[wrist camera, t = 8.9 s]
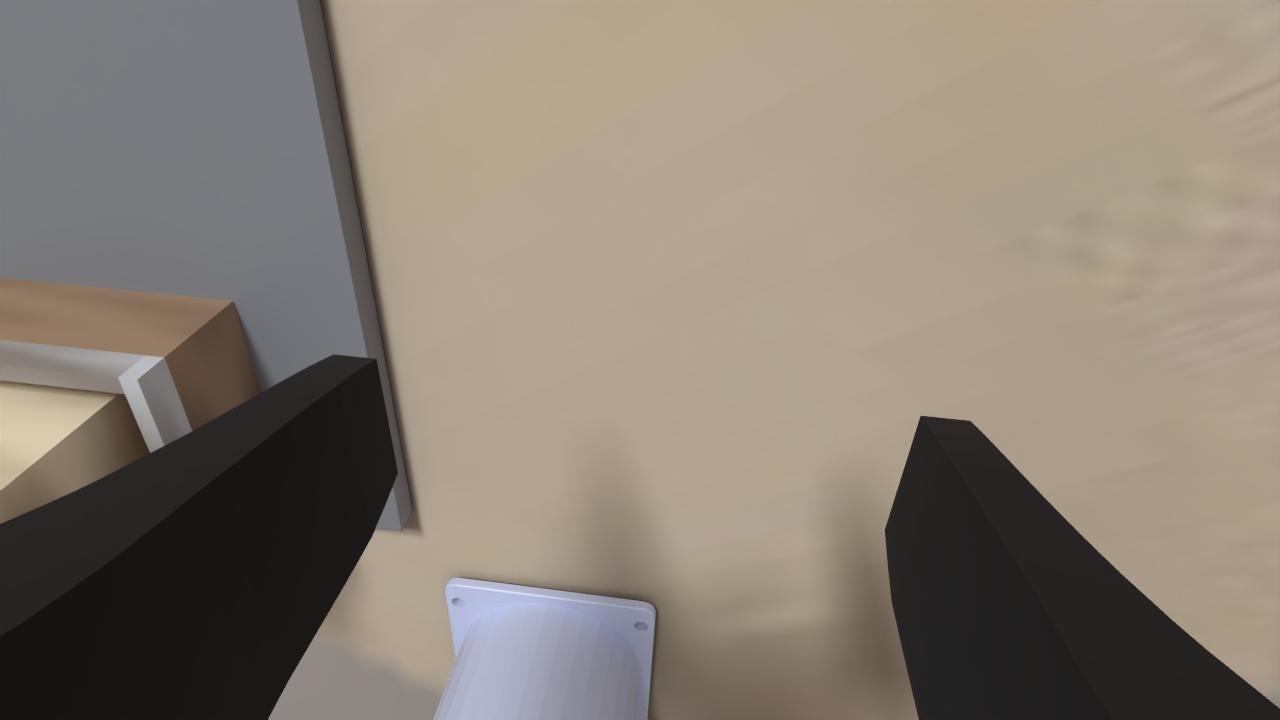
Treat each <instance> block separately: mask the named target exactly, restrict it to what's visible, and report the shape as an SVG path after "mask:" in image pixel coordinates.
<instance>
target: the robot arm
mask: <svg viewBox="0 0 1280 720" xmlns="http://www.w3.org/2000/svg"><path fill="white" fill-rule="evenodd" d="M397 474H398V469H397V464H396V459H395V454H394V448H393V443H392V438H391V432H390V427H389V422H388V417H387V411H386V406H385V401H384V395H383V390H382V385H381V380H380V374H379V369H378V364H377V359H373V358H364V357H354V356H345V355H335V354H333V355H331V356H329V357H327V358H325V359H323V360H321V361H318V362H317V363H315V364H313V365H311V366H309V367H307V368H305V369H303V370H301V371H299V372H297V373H296V374H294V375H292V376H290V377H288V378H286V379H285V380H283V381H281V382H279V383H278V384H276V385H274V386H272V387H270V388H269V389H267V390H265V391H263V392H262V393H260V394H258V395H256V396H254V397H253V398H251V399H249V400H247V401H246V402H244V403H242V404H240V405H238V406H237V407H235V408H233V409H231V410H229V411H228V412H226V413H224V414H222V415H220V416H219V417H217V418H215V419H213V420H211V421H210V422H208V423H206V424H204V425H202V426H201V427H199V428H197V429H195V430H193V431H192V432H190V433H188V434H186V435H184V436H182V437H180V438H179V439H177V440H175V441H173V442H171V443H169V444H167V445H165V446H163V447H161V448H159V449H157V450H155V451H153V452H151V453H149V454H147V455H145V456H144V457H142V458H140V459H138V460H136V461H134V462H132V463H130V464H128V465H126V466H124V467H122V468H120V469H118V470H116V471H114V472H112V473H110V474H109V475H107V476H105V477H103V478H101V479H99V480H97V481H95V482H92V483H90V484H88V485H86V486H84V487H82V488H80V489H78V490H76V491H74V492H71V493H69V494H67V495H65V496H63V497H61V498H58V499H56V500H54V501H52V502H50V503H47V504H45V505H43V506H41V507H38V508H36V509H34V510H31V511H29V512H27V513H24V514H22V515H20V516H17V517H15V518H13V519H10V520H8V521H6V522H4V523H1V524H0V720H268V718H269V716H270V714H271V712H272V711H273V709H274V707H275V705H276V703H277V701H278V699H279V697H280V696H281V694H282V692H283V690H284V688H285V686H286V684H287V682H288V680H289V679H290V677H291V676H292V673H293V672H294V670H295V669H296V667H297V665H298V663H299V662H300V660H301V658H302V657H303V655H304V653H305V652H306V650H307V648H308V646H309V645H310V643H311V641H312V640H313V638H314V636H315V635H316V633H317V631H318V629H319V628H320V626H321V624H322V623H323V621H324V619H325V617H326V616H327V614H328V612H329V611H330V609H331V607H332V605H333V604H334V602H335V600H336V599H337V597H338V595H339V594H340V592H341V590H342V588H343V587H344V585H345V583H346V581H347V580H348V578H349V576H350V574H351V573H352V571H353V569H354V568H355V566H356V564H357V562H358V561H359V559H360V557H361V555H362V554H363V552H364V550H365V548H366V546H367V545H368V543H369V541H370V539H371V537H372V535H373V533H374V531H375V528H376V526H377V524H378V521H379V519H380V517H381V514H382V512H383V510H384V507H385V505H386V502H387V500H388V497H389V495H390V492H391V490H392V487H393V485H394V482H395V479H396V477H397ZM885 537H886V548H887V560H888V571H889V580H890V589H891V598H892V604H893V609H894V613H895V618H896V623H897V627H898V631H899V636H900V640H901V645H902V649H903V653H904V658H905V662H906V666H907V671H908V675H909V679H910V683H911V688H912V692H913V696H914V700H915V705H916V709H917V713H918V717H919V720H1280V709H1279V708H1278V707H1277V706H1276V705H1274V704H1273V703H1272V702H1271V701H1270V700H1268V699H1267V698H1266V697H1265V696H1263V695H1262V694H1261V693H1260V692H1258V691H1257V690H1256V689H1255V688H1253V687H1252V686H1251V685H1250V684H1248V683H1247V682H1246V681H1245V680H1243V679H1242V678H1241V677H1240V676H1238V675H1237V674H1236V673H1235V672H1234V671H1232V670H1231V669H1230V668H1229V667H1227V666H1226V665H1225V664H1224V663H1222V662H1221V661H1220V660H1219V659H1217V658H1216V657H1215V656H1214V655H1212V654H1211V653H1210V652H1209V651H1207V650H1206V649H1205V648H1204V647H1203V646H1202V645H1200V644H1199V643H1198V642H1197V641H1196V640H1195V639H1193V638H1192V637H1191V636H1190V635H1189V634H1188V633H1186V632H1185V631H1184V630H1183V629H1182V628H1181V627H1179V626H1178V625H1177V624H1176V623H1175V622H1174V621H1172V620H1171V619H1170V618H1169V617H1168V616H1167V615H1166V614H1165V613H1164V612H1163V611H1161V610H1160V609H1159V608H1158V607H1157V606H1156V605H1155V604H1154V603H1153V602H1152V601H1150V600H1149V599H1148V598H1147V597H1146V596H1145V595H1144V594H1143V593H1142V592H1141V591H1139V590H1138V589H1137V588H1136V587H1135V586H1134V585H1133V584H1132V583H1131V582H1130V581H1128V580H1127V579H1126V578H1125V577H1124V576H1123V575H1122V574H1121V573H1120V572H1119V571H1118V570H1117V569H1116V568H1115V567H1114V566H1113V565H1111V564H1110V563H1109V562H1108V561H1107V560H1106V559H1105V558H1104V557H1103V556H1102V555H1101V554H1100V553H1099V552H1098V551H1097V550H1096V549H1095V548H1094V547H1093V546H1092V545H1091V544H1090V543H1089V542H1088V541H1087V540H1086V539H1085V538H1084V537H1083V536H1082V535H1081V534H1080V533H1079V532H1078V531H1077V530H1076V529H1075V528H1074V527H1073V526H1072V525H1071V524H1070V523H1069V522H1068V521H1067V520H1066V519H1065V518H1064V517H1063V516H1062V515H1061V514H1060V513H1059V512H1058V511H1057V510H1056V509H1055V508H1054V507H1053V506H1052V505H1051V504H1050V503H1049V502H1048V501H1047V500H1046V499H1045V498H1044V497H1043V496H1042V495H1041V494H1040V493H1039V492H1038V490H1037V489H1036V488H1035V487H1034V486H1033V485H1032V484H1031V483H1030V482H1029V481H1028V480H1027V479H1026V478H1025V477H1024V476H1023V475H1022V474H1021V473H1020V472H1019V471H1018V470H1017V468H1016V467H1015V466H1014V465H1013V464H1012V463H1011V462H1010V461H1009V460H1008V459H1007V458H1006V457H1005V456H1004V455H1003V454H1002V453H1001V452H1000V451H999V450H998V448H997V447H996V446H995V445H994V444H993V443H992V442H991V441H990V440H989V439H988V438H987V437H986V436H985V435H984V434H983V433H982V432H981V431H980V430H979V429H978V428H977V427H976V426H975V425H974V424H973V423H972V422H971V421H965V420H956V419H946V418H937V417H927V416H921V417H920V420H919V423H918V426H917V429H916V433H915V436H914V439H913V442H912V445H911V448H910V452H909V455H908V458H907V461H906V464H905V468H904V471H903V474H902V477H901V480H900V484H899V487H898V490H897V493H896V496H895V499H894V503H893V506H892V509H891V512H890V515H889V519H888V522H887V525H886V528H885ZM445 595H446V602H447V608H448V614H449V620H450V626H451V633H452V639H453V645H454V651H455V657H456V661H455V663H454V666H453V668H452V671H451V674H450V676H449V679H448V682H447V684H446V687H445V690H444V692H443V695H442V698H441V700H440V703H439V706H438V708H437V711H436V714H435V717H434V719H433V720H647V719H648V706H649V693H650V681H651V668H652V655H653V642H654V630H655V617H656V610H655V608H654V607H653V605H651V604H650V603H648V602H644V601H637V600H629V599H622V598H614V597H606V596H598V595H591V594H583V593H575V592H567V591H559V590H552V589H544V588H536V587H528V586H521V585H513V584H505V583H497V582H490V581H482V580H474V579H466V578H452V579H450V580H449V581H448V583H447V585H446V587H445Z"/></svg>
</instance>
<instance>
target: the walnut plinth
mask: <svg viewBox="0 0 1280 720" xmlns="http://www.w3.org/2000/svg"><path fill="white" fill-rule="evenodd" d="M0 380H2V381H11V382H20V383H29V384H38V385H47V386H56V387H65V388H73V389H82V390H91V391H100V392H109V393H118V394H124V395H125V397H126V400H127V402H128V404H129V406H130V409H131V411H132V413H133V415H134V418H135V420H136V422H137V424H138V427H139V429H140V431H141V434H142V436H143V438H144V440H145V443H146V445H147V447H148V449H149V452H150V453H151V452H153V451H155V450H157V449H159V448H161V447H163V446H165V445H167V444H169V443H171V442H173V441H175V440H177V439H179V438H180V437H182V436H184V435H186V434H188V433H190V432H192V431H193V430H195V429H197V428H199V427H201V426H202V425H204V424H206V423H208V422H210V421H211V420H213V419H215V418H217V417H219V416H220V415H222V414H224V413H226V412H228V411H229V410H231V409H233V408H235V407H237V406H238V405H240V404H242V403H244V402H246V401H247V400H249V399H251V398H253V397H254V396H256V395H258V394H260V393H261V391H260V388H259V385H258V381H257V378H256V375H255V371H254V368H253V365H252V361H251V358H250V355H249V351H248V348H247V345H246V342H245V338H244V335H243V332H242V328H241V325H240V322H239V318H238V315H237V312H236V308H235V305H234V302H233V301H230V300H220V299H210V298H200V297H190V296H180V295H170V294H160V293H150V292H140V291H130V290H120V289H110V288H100V287H90V286H80V285H70V284H60V283H50V282H40V281H30V280H19V279H9V278H0Z"/></svg>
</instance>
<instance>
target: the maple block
mask: <svg viewBox="0 0 1280 720" xmlns="http://www.w3.org/2000/svg"><path fill="white" fill-rule="evenodd" d="M149 453H150V452H149V449H148V447H147V445H146V443H145V440H144V438H143V436H142V434H141V431H140V429H139V427H138V424H137V422H136V420H135V418H134V415H133V413H132V411H131V409H130V406H129V404H128V402H127V400H126V397H125V395H124V394H118V393H109V392H100V391H91V390H82V389H73V388H65V387H56V386H47V385H38V384H29V383H20V382H11V381H2V380H0V524H1V523H4V522H6V521H8V520H10V519H13V518H15V517H17V516H20V515H22V514H24V513H27V512H29V511H31V510H34V509H36V508H38V507H41V506H43V505H45V504H47V503H50V502H52V501H54V500H56V499H58V498H61V497H63V496H65V495H67V494H69V493H71V492H74V491H76V490H78V489H80V488H82V487H84V486H86V485H88V484H90V483H92V482H95V481H97V480H99V479H101V478H103V477H105V476H107V475H109V474H110V473H112V472H114V471H116V470H118V469H120V468H122V467H124V466H126V465H128V464H130V463H132V462H134V461H136V460H138V459H140V458H142V457H144V456H145V455H147V454H149Z"/></svg>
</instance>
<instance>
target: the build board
mask: <svg viewBox="0 0 1280 720" xmlns="http://www.w3.org/2000/svg"><path fill="white" fill-rule="evenodd" d="M0 278H9V279H19V280H30V281H40V282H50V283H60V284H70V285H80V286H90V287H100V288H110V289H120V290H130V291H140V292H150V293H160V294H170V295H180V296H190V297H200V298H210V299H220V300H230V301H233V302H234V305H235V308H236V312H237V315H238V318H239V322H240V325H241V328H242V332H243V335H244V338H245V342H246V345H247V348H248V351H249V355H250V358H251V361H252V365H253V368H254V371H255V375H256V378H257V381H258V385H259V388H260V391H261V393H262V392H263V391H265V390H267V389H269V388H270V387H272V386H274V385H276V384H278V383H279V382H281V381H283V380H285V379H286V378H288V377H290V376H292V375H294V374H296V373H297V372H299V371H301V370H303V369H305V368H307V367H309V366H311V365H313V364H315V363H317V362H318V361H321V360H323V359H325V358H327V357H329V356H331V355H333V354H335V355H345V356H354V357H364V358H373V359H377V364H378V369H379V374H380V380H381V385H382V390H383V395H384V401H385V406H386V411H387V417H388V422H389V427H390V432H391V438H392V443H393V448H394V454H395V459H396V464H397V469H398V474H397V477H396V479H395V482H394V485H393V487H392V490H391V492H390V495H389V497H388V500H387V502H386V505H385V507H384V510H383V512H382V514H381V517H380V519H379V521H378V524H377V526H376V528H377V529H385V530H393V531H401V532H402V530H403V528H404V526H405V525H406V523H407V521H408V519H409V517H410V515H411V513H412V511H413V510H412V505H411V499H410V494H409V488H408V483H407V477H406V472H405V466H404V461H403V455H402V450H401V444H400V439H399V433H398V428H397V422H396V417H395V411H394V406H393V400H392V395H391V389H390V383H389V378H388V372H387V367H386V361H385V356H384V350H383V345H382V339H381V334H380V328H379V323H378V317H377V312H376V306H375V301H374V295H373V290H372V284H371V279H370V273H369V268H368V262H367V257H366V251H365V246H364V240H363V235H362V229H361V224H360V218H359V213H358V207H357V202H356V196H355V191H354V185H353V180H352V174H351V169H350V163H349V158H348V152H347V147H346V141H345V136H344V130H343V125H342V119H341V114H340V108H339V103H338V97H337V92H336V86H335V81H334V75H333V70H332V64H331V59H330V53H329V48H328V42H327V37H326V31H325V26H324V20H323V15H322V9H321V4H320V0H0Z"/></svg>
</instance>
